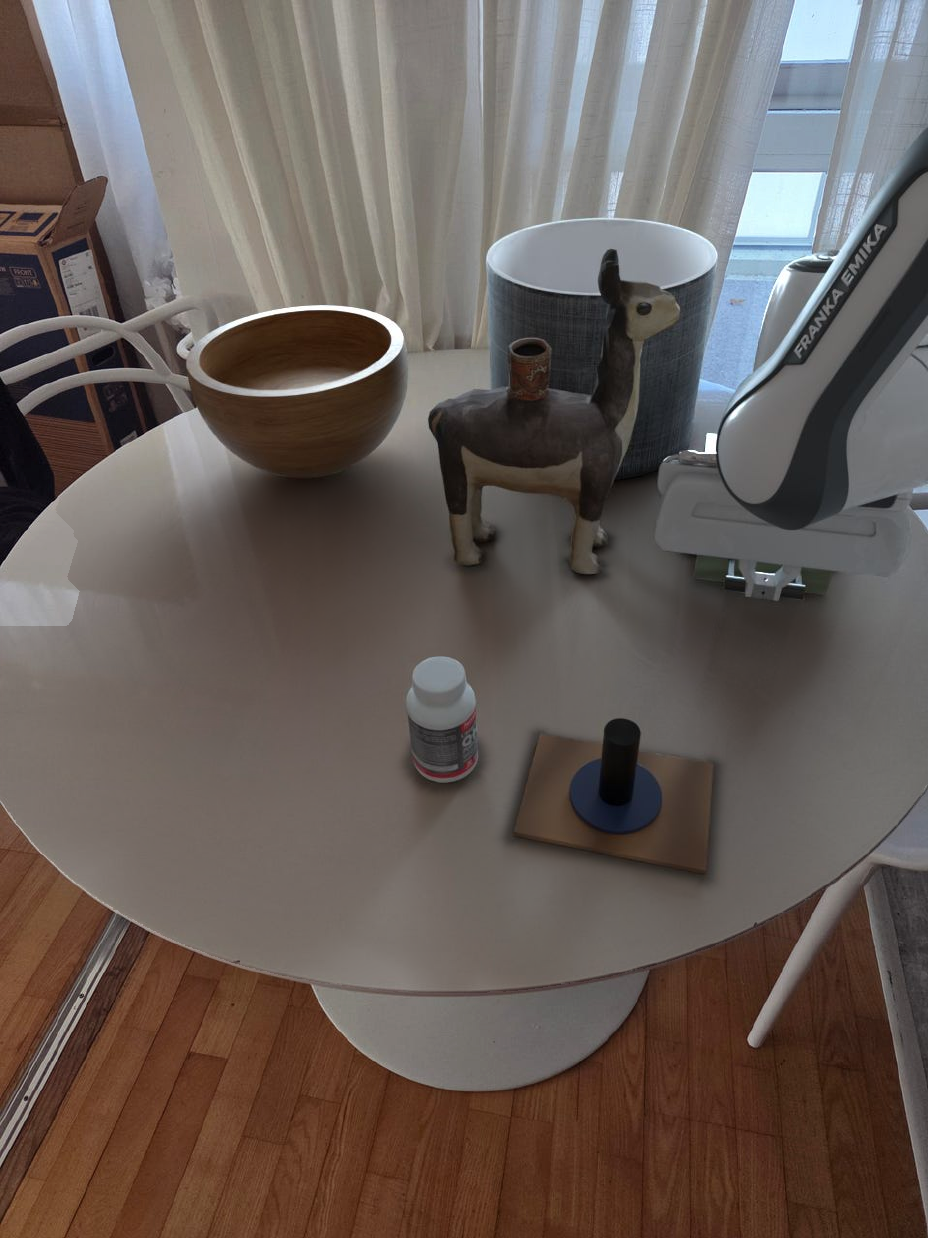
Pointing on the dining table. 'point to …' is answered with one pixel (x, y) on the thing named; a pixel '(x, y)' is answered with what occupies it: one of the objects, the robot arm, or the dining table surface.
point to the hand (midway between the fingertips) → (761, 594)
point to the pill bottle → (442, 720)
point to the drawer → (735, 581)
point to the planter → (576, 316)
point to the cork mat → (663, 842)
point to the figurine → (551, 425)
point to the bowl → (301, 387)
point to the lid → (616, 784)
